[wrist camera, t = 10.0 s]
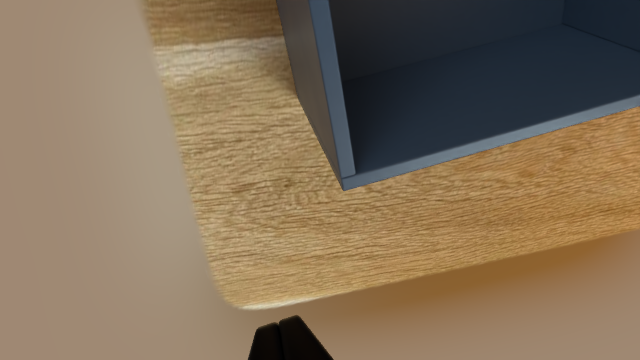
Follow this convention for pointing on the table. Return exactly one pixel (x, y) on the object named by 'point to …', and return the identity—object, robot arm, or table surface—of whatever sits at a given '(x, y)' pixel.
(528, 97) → the carton
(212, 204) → the table surface
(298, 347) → the robot arm
